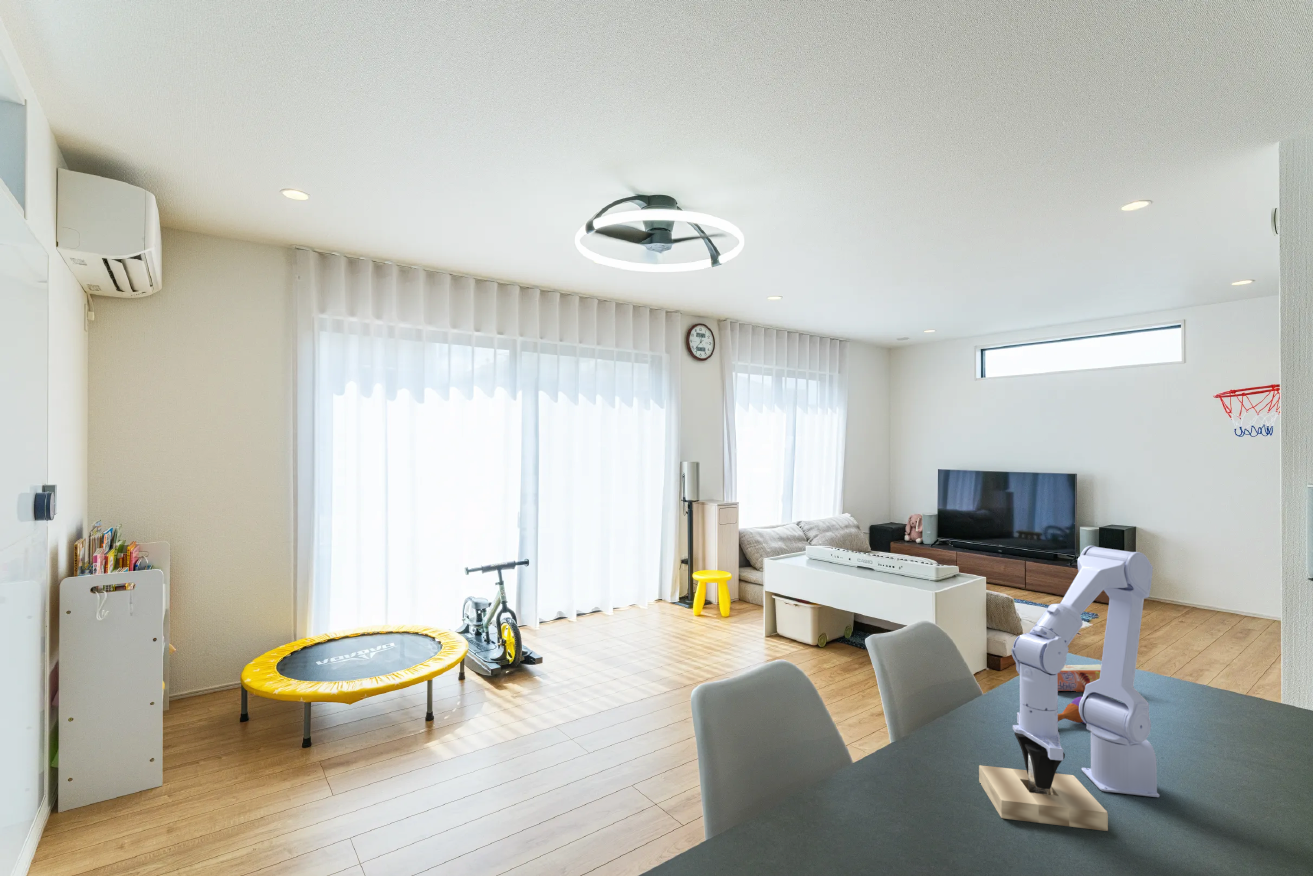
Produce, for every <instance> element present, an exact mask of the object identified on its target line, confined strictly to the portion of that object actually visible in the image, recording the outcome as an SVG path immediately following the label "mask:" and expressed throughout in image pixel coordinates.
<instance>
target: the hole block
mask: <svg viewBox="0 0 1313 876" xmlns="http://www.w3.org/2000/svg"><path fill="white" fill-rule="evenodd" d="M978 782H979V784H980V783H981V784H980V785H981V787H982V788H983V790H984V791H985V794H986V795H987V796H988V798H989V800H990V801H991V803H992V805H993V806H994V808H995V810H996V811H997V813H998V815H999V816H1000V818H1001V819H1006V820H1014V821H1022V822H1029V823H1030V822H1031V823H1036V824H1037V823H1038V824H1047V825H1056V826H1061V827H1063V826H1064V827H1071V828H1072V827H1073V828H1080V829H1087V830H1096V831H1104V832H1109V824H1108V823H1109V814H1108V810H1106V809H1105V808H1104V806H1103V805H1101V804H1100V802H1099V801H1098V800H1097V799H1096V798H1095V797H1094V796H1093V795H1092V793H1090V792H1089V791H1088V789H1087V788H1086V787H1085V786H1084V785H1083V784H1082V782H1081V781H1080V780H1079V779H1078V778H1077V777H1076V776H1075V775H1073V774H1064V773H1056V772H1055V775H1054V779H1053V782H1052V785H1051V788H1050V789H1048V795H1046V794H1037V793H1030V792H1029V791H1028V774H1027V770H1026V769H1017V768H1010V767H1009V768H1008V767H1002V766H1001V767H999V766H990V765H978Z"/></svg>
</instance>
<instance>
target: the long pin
mask: <svg viewBox="0 0 1313 876" xmlns="http://www.w3.org/2000/svg"><path fill="white" fill-rule="evenodd" d="M1028 791H1029V792H1030V793H1037V794H1046V795H1048V789H1044V788H1038V787H1037V786H1036V784H1035V780H1034V774H1033V767H1032V762H1031V759H1030V756H1029V753H1028Z"/></svg>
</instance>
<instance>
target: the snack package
mask: <svg viewBox="0 0 1313 876" xmlns="http://www.w3.org/2000/svg"><path fill="white" fill-rule="evenodd" d="M1100 672H1101V664H1065V666H1064V668H1063V669H1062V670H1061V671H1060V672H1059V673H1057V677H1058V691H1076V692H1075V693H1084V691H1085V686H1086V685H1087V684H1089V683H1091V682H1094V681H1096V680H1098V679H1100Z"/></svg>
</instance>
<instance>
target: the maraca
mask: <svg viewBox="0 0 1313 876" xmlns="http://www.w3.org/2000/svg"><path fill="white" fill-rule="evenodd" d="M1082 697H1083V696H1078V697H1075V698H1074V699H1072V701H1071V702H1070V703H1069V704H1067V705H1066V707H1065V709H1064V710H1063V711H1062V713H1058V722H1061V721H1062V720H1064V719H1065V720H1067V721H1068V720H1069V721H1072V722H1074V723H1076V724H1083V723H1084V725H1087V724H1086V723H1085V722H1083V720H1082V719H1081V716H1080V713H1079V703H1080V700H1081V698H1082ZM1081 722H1082V723H1081Z"/></svg>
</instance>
